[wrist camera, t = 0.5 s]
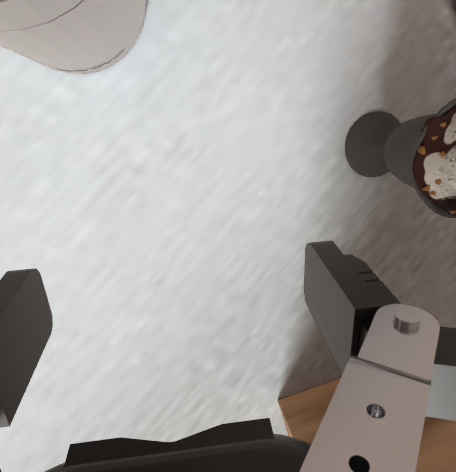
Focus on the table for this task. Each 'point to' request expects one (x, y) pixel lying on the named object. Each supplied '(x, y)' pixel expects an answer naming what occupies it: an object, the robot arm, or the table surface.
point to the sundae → (410, 153)
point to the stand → (315, 406)
